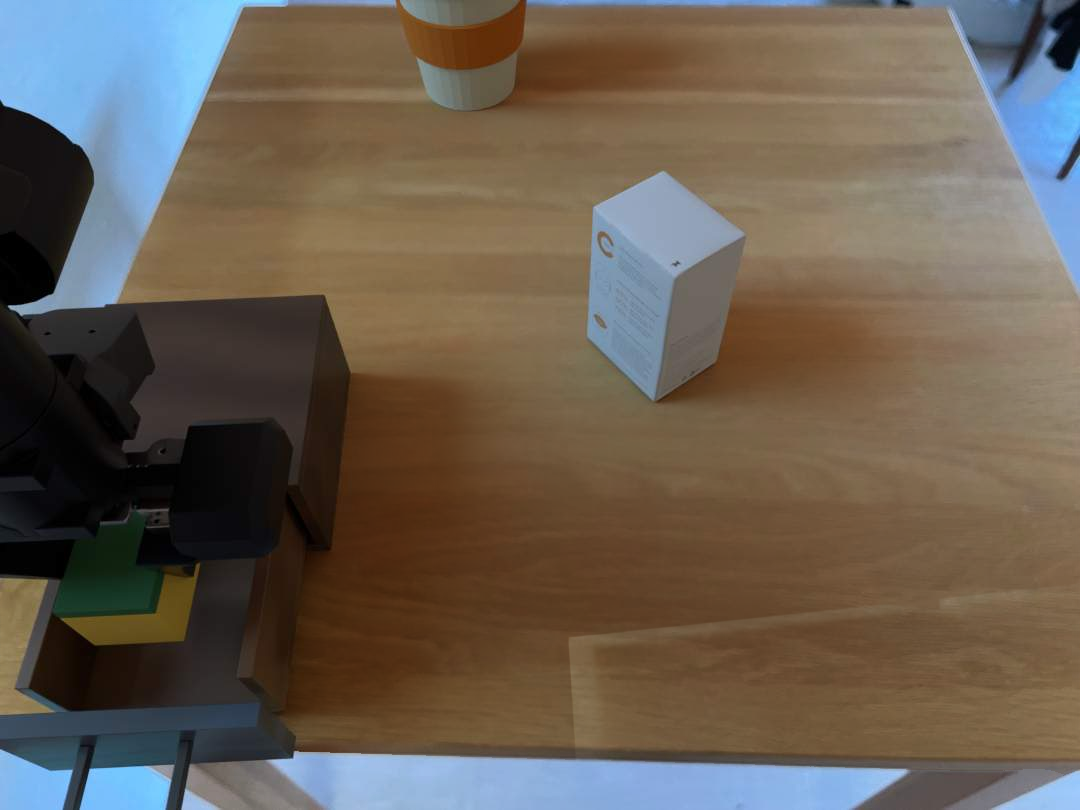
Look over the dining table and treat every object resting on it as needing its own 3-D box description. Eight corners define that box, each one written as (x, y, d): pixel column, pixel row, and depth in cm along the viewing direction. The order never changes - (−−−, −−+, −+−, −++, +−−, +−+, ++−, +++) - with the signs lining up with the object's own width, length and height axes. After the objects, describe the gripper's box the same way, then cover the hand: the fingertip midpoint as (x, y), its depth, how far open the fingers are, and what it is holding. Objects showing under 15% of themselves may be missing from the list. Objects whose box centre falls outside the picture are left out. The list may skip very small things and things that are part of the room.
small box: (717, 363, 63) (750, 234, 52) (653, 405, 60) (674, 279, 50) (646, 299, 66) (664, 166, 56) (584, 336, 64) (589, 206, 54)
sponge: (184, 641, 43) (149, 607, 39) (94, 646, 43) (51, 612, 39) (209, 520, 47) (180, 479, 43) (127, 524, 47) (91, 483, 43)
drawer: (282, 854, 43) (241, 834, 38) (23, 868, 43) (-56, 849, 38) (319, 537, 54) (292, 484, 48) (111, 546, 54) (59, 495, 48)
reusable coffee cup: (406, 52, 87) (381, -103, 74) (526, 43, 87) (521, -112, 75) (407, 127, 79) (380, -31, 67) (538, 117, 80) (535, -41, 68)
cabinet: (331, 550, 54) (297, 484, 47) (106, 561, 54) (38, 497, 47) (350, 372, 63) (324, 294, 56) (155, 381, 62) (104, 303, 55)
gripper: (259, 236, 36) (338, 434, 49) (-178, 256, 36) (16, 449, 48) (212, 458, 29) (317, 618, 42) (-320, 483, 29) (-53, 636, 42)
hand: (146, 570), depth 44 cm, fingers closed on sponge, 4 cm apart
